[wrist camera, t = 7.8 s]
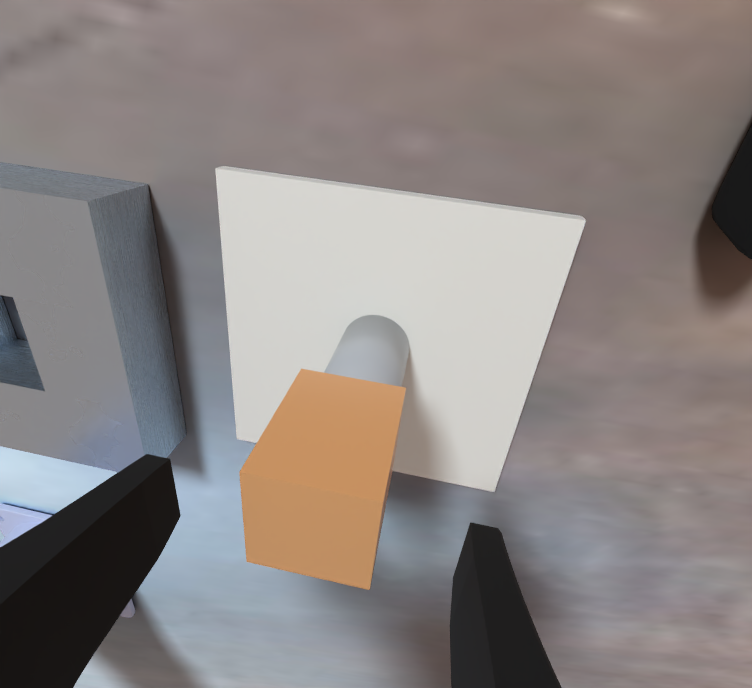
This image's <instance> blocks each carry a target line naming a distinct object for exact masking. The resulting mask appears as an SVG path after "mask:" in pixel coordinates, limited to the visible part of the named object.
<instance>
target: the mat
mask: <svg viewBox="0 0 752 688" xmlns="http://www.w3.org/2000/svg"><path fill="white" fill-rule="evenodd" d="M215 169H216V182H217V194H218V207H219V219H220V232H221V245H222V257H223V270H224V283H225V295H226V308H227V321H228V333H229V346H230V358H231V371H232V384H233V396H234V409H235V422H236V434H237V439H240V440H244V441H249V442H254V443H257V442H258V440H259V439H260V437H261V435H262V434H263V432H264V430H265V429H266V427H267V425H268V423H269V422H270V420H271V418H272V417H273V415H274V413H275V412H276V410H277V408H278V407H279V405H280V403H281V402H282V400H283V398H284V397H285V395H286V393H287V392H288V390H289V388H290V387H291V385H292V383H293V382H294V380H295V378H296V377H297V375H298V373H299V372H300V370H301V369H307V370H312V371H318V372H323V373H324V371H325V369H326V367H327V366H328V364H329V362H330V360H331V358H332V356H333V354H334V352H335V350H336V348H337V346H338V344H339V342H340V340H341V338H342V336H343V334H344V332H345V330H346V328H347V327H348V325H349V324H350V323H351V322H353V321H354V320H356V319H357V318H360V317H362V316H366V315H380V316H384V317H387V318H389V319H391V320H393V321H394V322H396V323H397V324H398V325H399V326H400V327H401V328H402V329H403V330H404V332H405V333H406V335H407V337H408V340H409V355H408V359H407V364H406V368H405V373H404V378H403V382H402V387H405V388H406V392H405V398H404V404H403V410H402V416H401V422H400V428H399V435H398V441H397V447H396V453H395V459H394V465H393V471H395V472H400V473H404V474H409V475H414V476H419V477H424V478H429V479H434V480H438V481H443V482H448V483H453V484H458V485H463V486H467V487H472V488H477V489H482V490H487V491H492V492H495V489H496V486H497V483H498V480H499V477H500V474H501V471H502V468H503V465H504V462H505V459H506V456H507V453H508V450H509V447H510V444H511V441H512V438H513V435H514V432H515V429H516V426H517V424H518V421H519V418H520V415H521V412H522V409H523V406H524V403H525V400H526V397H527V394H528V391H529V388H530V385H531V382H532V379H533V376H534V373H535V370H536V367H537V364H538V361H539V358H540V356H541V353H542V350H543V347H544V344H545V341H546V338H547V335H548V332H549V329H550V326H551V323H552V320H553V317H554V314H555V311H556V308H557V305H558V302H559V299H560V296H561V293H562V290H563V287H564V285H565V282H566V279H567V276H568V273H569V270H570V267H571V264H572V261H573V258H574V255H575V252H576V249H577V246H578V243H579V240H580V237H581V234H582V231H583V228H584V225H585V222H586V220H585V219H584V218H583V217H582V216H579V215H572V214H564V213H557V212H550V211H543V210H536V209H529V208H521V207H514V206H507V205H500V204H493V203H486V202H478V201H471V200H464V199H457V198H450V197H443V196H435V195H428V194H421V193H414V192H407V191H400V190H392V189H385V188H378V187H371V186H364V185H357V184H349V183H342V182H335V181H328V180H321V179H314V178H306V177H299V176H292V175H285V174H278V173H271V172H263V171H256V170H249V169H242V168H235V167H228V166H222V167H219V168H215Z"/></svg>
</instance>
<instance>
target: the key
mask: <svg viewBox="0 0 752 688" xmlns="http://www.w3.org/2000/svg"><path fill="white" fill-rule="evenodd" d="M408 355H409V340H408V337H407V335H406V333H405V332H404V330H403V329H402V328H401V327H400V326H399V325H398V324H397V323H396V322H394V321H393V320H391V319H389V318H387V317H384V316H380V315H366V316H362V317H360V318H357V319H356V320H354V321H353V322H351V323H350V324H349V325H348V327H347V328H346V330H345V332H344V334H343V336H342V338H341V340H340V342H339V344H338V346H337V348H336V350H335V352H334V354H333V356H332V358H331V360H330V362H329V364H328V366H327V367H326V369H325V371H324V373H323V372H318V371H312V370H307V369H301V370H300V372H299V373H298V375H297V377H296V378H295V380H294V382H293V383H292V385H291V387H290V388H289V390H288V392H287V393H286V395H285V397H284V398H283V400H282V402H281V403H280V405H279V407H278V408H277V410H276V412H275V413H274V415H273V417H272V418H271V420H270V422H269V423H268V425H267V427H266V429H265V430H264V432H263V434H262V435H261V437H260V439H259V440H258V442H257V444H256V445H255V447H254V449H253V450H252V452H251V454H250V455H249V457H248V459H247V460H246V462H245V464H244V465H243V467H242V469H241V470H240V485H241V497H242V509H243V522H244V534H245V547H246V559H247V562H250V563H255V564H259V565H263V566H268V567H272V568H276V569H281V570H285V571H289V572H294V573H298V574H302V575H307V576H311V577H315V578H320V579H324V580H328V581H333V582H337V583H341V584H346V585H350V586H354V587H359V588H363V589H367V590H370V585H371V580H372V575H373V570H374V565H375V559H376V554H377V549H378V544H379V538H380V533H381V528H382V523H383V518H384V512H385V507H386V502H387V497H388V492H389V486H390V481H391V476H392V471H393V465H394V459H395V453H396V447H397V441H398V435H399V428H400V422H401V416H402V410H403V404H404V398H405V392H406V388H405V387H402V382H403V378H404V373H405V368H406V364H407V359H408Z"/></svg>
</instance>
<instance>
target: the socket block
mask: <svg viewBox="0 0 752 688" xmlns="http://www.w3.org/2000/svg"><path fill="white" fill-rule="evenodd" d="M2 295H3V296H9V297H13V299H14V302H15V305H16V308H17V311H18V314H19V317H20V319H21V322H22V325H23V328H24V331H25V334H26V337H27V340H28V341H26V340H21V339H17V337H16V335H15V332H14V329H13V326H12V323H11V321H10V318H9V315H8V312H7V309H6V307H5V304H4V301H3V298H2ZM185 435H186V428H185V421H184V415H183V408H182V402H181V395H180V389H179V382H178V376H177V369H176V363H175V356H174V350H173V343H172V337H171V331H170V324H169V318H168V311H167V305H166V298H165V292H164V285H163V279H162V272H161V266H160V259H159V253H158V246H157V240H156V233H155V227H154V220H153V214H152V207H151V201H150V194H149V188H148V184H142V183H136V182H129V181H122V180H115V179H108V178H102V177H95V176H88V175H81V174H74V173H68V172H61V171H54V170H47V169H40V168H33V167H27V166H20V165H13V164H6V163H0V446H3V447H7V448H12V449H16V450H21V451H25V452H30V453H34V454H39V455H44V456H48V457H53V458H57V459H62V460H66V461H71V462H75V463H80V464H84V465H89V466H93V467H98V468H102V469H107V470H111V471H116V472H120V471H121V470H123V469H124V468H126V467H127V466H129V465H130V464H132V463H133V462H135V461H136V460H138V459H139V458H141V457H143V456H144V455H146V454H150V455H154V456H159V457H164V458H167V457H168V456H169V455H170V454H171V452H172V451H173V450H174V449H175V448H176V446H177V445H178V444H179V443H180V441H181V440H182V439H183V438H184V437H185Z"/></svg>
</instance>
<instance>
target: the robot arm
mask: <svg viewBox="0 0 752 688" xmlns="http://www.w3.org/2000/svg"><path fill="white" fill-rule="evenodd" d="M179 518H180V510H179V505H178V500H177V494H176V489H175V483H174V478H173V472H172V467H171V461H170V459H168V458H164V457H159V456H154V455H150V454H146V455H144V456H143V457H141V458H139V459H138V460H136V461H135V462H133V463H132V464H130V465H129V466H127V467H126V468H124V469H123V470H121V471H120V472H118V473H117V474H115V475H114V476H112V477H111V478H109V479H108V480H106V481H105V482H103V483H102V484H100V485H99V486H97V487H96V488H94V489H93V490H91V491H90V492H88V493H87V494H85V495H84V496H82V497H80V498H79V499H77V500H76V501H74V502H73V503H71V504H70V505H68V506H67V507H65V508H63V509H62V510H60V511H59V512H57V513H56V514H54V515H49V514H44V513H40V512H36V511H32V510H27V509H23V508H19V507H15V506H11V505H6V504H2V503H0V530H1V532H2V534H3V536H4V538H3V539H2V540H1V541H0V688H73V687H74V685H75V683H76V682H77V680H78V678H79V676H80V675H81V673H82V672H83V670H84V669H85V667H86V665H87V664H88V662H89V661H90V659H91V657H92V656H93V654H94V653H95V651H96V650H97V648H98V647H99V645H100V644H101V642H102V641H103V640H104V638H105V637H106V635H107V634H108V632H109V631H110V629H111V628H112V626H113V625H114V623H115V622H116V620H117V619H118V617H119V616H122V617H126V618H131V617H133V615H134V614H135V608H134V605H133V602H132V599H131V598H132V597H133V595H134V594H135V592H136V591H137V590H138V588H139V587H140V585H141V584H142V582H143V581H144V579H145V578H146V576H147V575H148V573H149V572H150V570H151V569H152V567H153V566H154V564H155V562H156V561H157V559H158V558H159V556H160V554H161V552H162V551H163V549H164V547H165V545H166V543H167V541H168V540H169V538H170V536H171V534H172V532H173V530H174V528H175V526H176V524H177V522H178V520H179ZM450 649H451V685H452V688H561V685H560V683H559V681H558V679H557V677H556V675H555V673H554V670H553V668H552V666H551V664H550V661H549V659H548V657H547V655H546V652H545V650H544V648H543V645H542V643H541V641H540V638H539V636H538V633H537V631H536V628H535V626H534V624H533V621H532V619H531V616H530V614H529V611H528V609H527V606H526V604H525V601H524V599H523V596H522V593H521V590H520V588H519V585H518V582H517V580H516V577H515V574H514V571H513V568H512V565H511V562H510V559H509V556H508V553H507V550H506V547H505V543H504V540H503V536H502V533H501V532H500V530H499V529H498V528H494V527H489V526H484V525H480V524H475V523H470V525H469V529H468V532H467V535H466V538H465V541H464V545H463V548H462V551H461V554H460V557H459V561H458V564H457V567H456V570H455V573H454V576H453V588H452V602H451V618H450Z"/></svg>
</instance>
